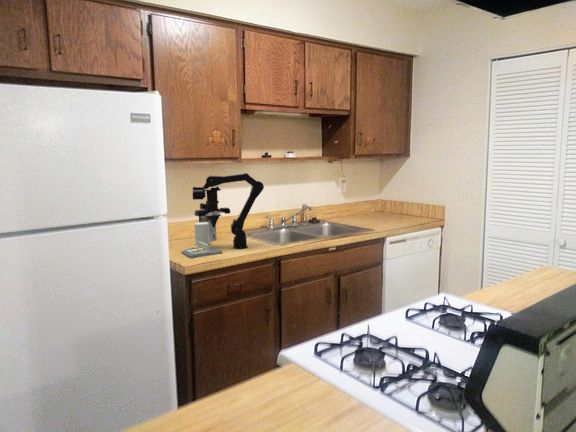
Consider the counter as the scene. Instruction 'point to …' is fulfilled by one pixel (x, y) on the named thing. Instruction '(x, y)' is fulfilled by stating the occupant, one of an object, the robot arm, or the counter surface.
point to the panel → (200, 245)
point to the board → (211, 252)
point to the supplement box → (202, 232)
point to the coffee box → (211, 230)
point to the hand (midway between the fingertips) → (213, 227)
